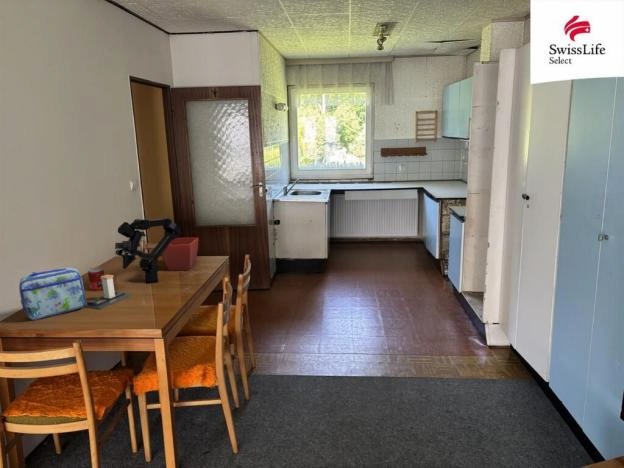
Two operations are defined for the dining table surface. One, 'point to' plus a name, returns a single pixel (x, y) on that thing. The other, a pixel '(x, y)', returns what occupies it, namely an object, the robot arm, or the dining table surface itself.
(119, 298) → the plate
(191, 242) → the plant pot
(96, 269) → the canned food
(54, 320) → the dining table surface
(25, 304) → the lunch box
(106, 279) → the fader knob
